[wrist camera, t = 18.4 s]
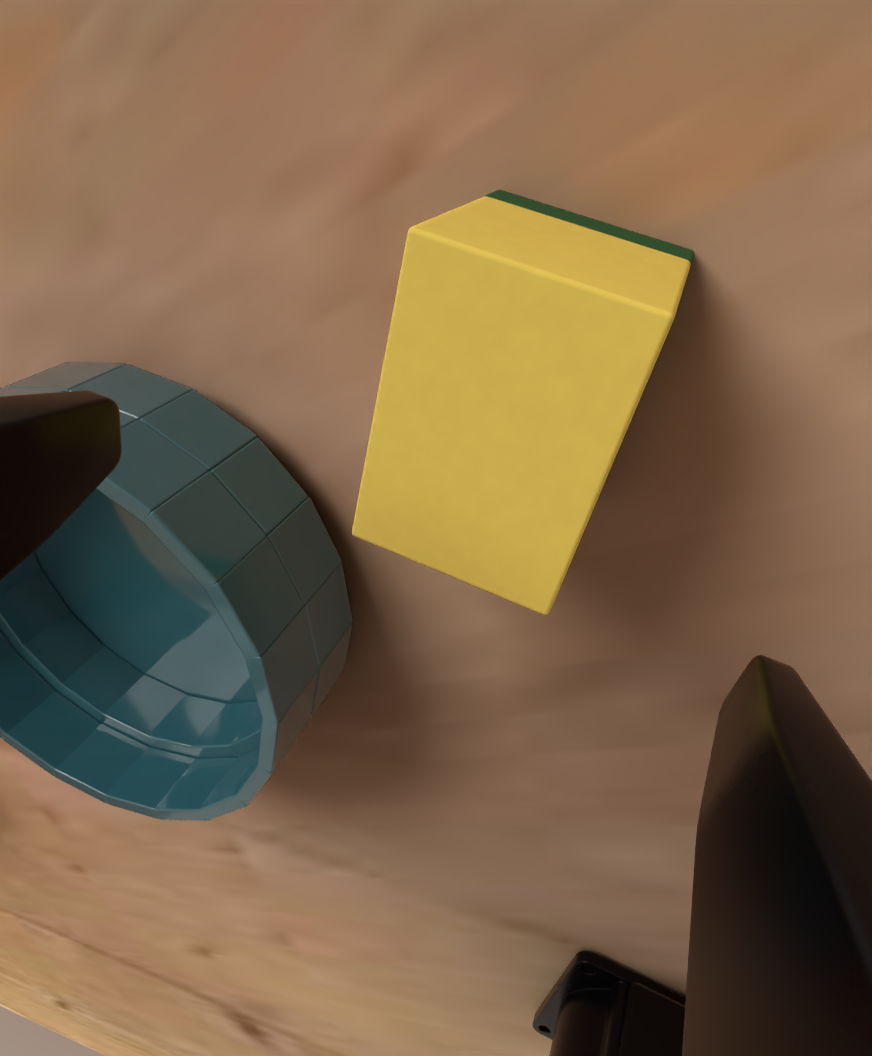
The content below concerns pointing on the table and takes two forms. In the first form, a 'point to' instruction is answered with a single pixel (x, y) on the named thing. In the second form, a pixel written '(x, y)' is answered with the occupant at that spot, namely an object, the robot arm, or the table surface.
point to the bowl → (171, 611)
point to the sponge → (510, 388)
